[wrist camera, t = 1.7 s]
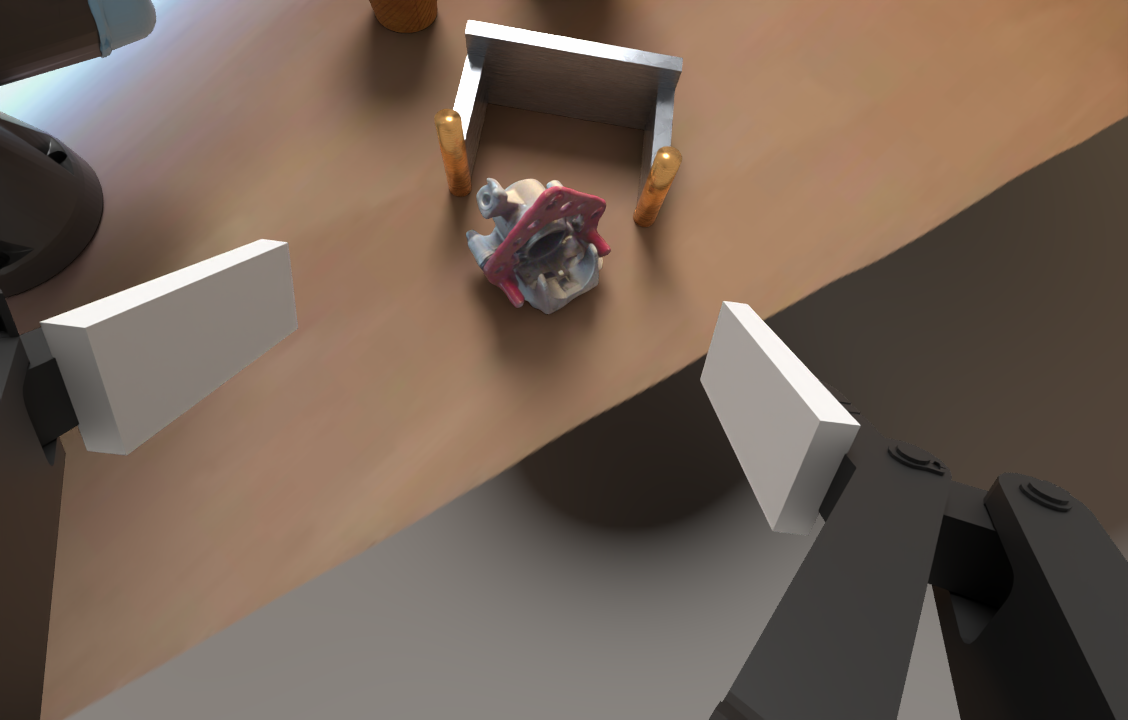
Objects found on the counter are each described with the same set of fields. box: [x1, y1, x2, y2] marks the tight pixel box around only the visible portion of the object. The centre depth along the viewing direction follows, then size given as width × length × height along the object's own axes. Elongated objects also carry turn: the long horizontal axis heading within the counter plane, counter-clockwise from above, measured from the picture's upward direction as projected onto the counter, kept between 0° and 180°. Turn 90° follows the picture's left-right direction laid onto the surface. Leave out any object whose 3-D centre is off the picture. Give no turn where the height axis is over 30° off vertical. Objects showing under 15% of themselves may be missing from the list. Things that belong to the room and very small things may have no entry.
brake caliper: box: [466, 178, 611, 314], centre depth 39 cm, size 11×11×12 cm
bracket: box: [434, 20, 683, 227], centre depth 43 cm, size 19×12×8 cm, turn 82°
